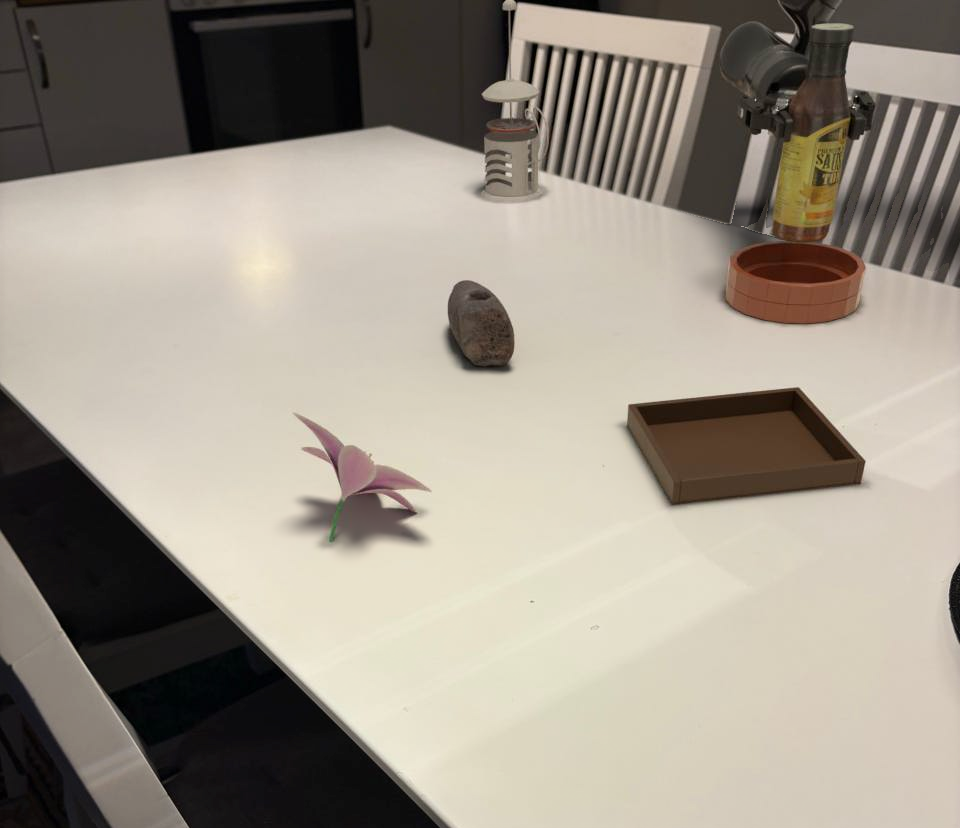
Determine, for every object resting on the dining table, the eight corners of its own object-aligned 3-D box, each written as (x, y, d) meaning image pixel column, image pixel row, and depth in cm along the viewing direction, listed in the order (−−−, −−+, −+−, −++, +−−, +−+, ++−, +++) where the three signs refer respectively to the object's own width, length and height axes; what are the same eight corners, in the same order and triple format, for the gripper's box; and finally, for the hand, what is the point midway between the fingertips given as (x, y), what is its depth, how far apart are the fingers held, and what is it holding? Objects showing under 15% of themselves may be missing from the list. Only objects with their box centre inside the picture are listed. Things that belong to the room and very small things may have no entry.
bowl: (825, 274, 125) (832, 236, 122) (879, 320, 113) (888, 279, 111) (708, 285, 123) (712, 246, 120) (751, 332, 112) (757, 291, 109)
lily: (441, 568, 81) (464, 446, 79) (297, 551, 75) (318, 419, 73) (383, 540, 91) (402, 431, 89) (252, 523, 85) (270, 406, 84)
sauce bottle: (811, 250, 109) (844, 34, 97) (759, 238, 113) (784, 29, 100) (841, 233, 113) (877, 23, 100) (790, 222, 116) (818, 18, 104)
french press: (512, 181, 160) (510, -9, 144) (567, 195, 153) (571, -2, 137) (465, 195, 155) (457, 0, 139) (519, 211, 148) (517, 8, 132)
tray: (794, 411, 97) (798, 386, 96) (860, 487, 86) (866, 460, 85) (626, 428, 96) (628, 404, 94) (671, 508, 85) (674, 481, 83)
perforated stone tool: (438, 326, 116) (434, 264, 112) (484, 320, 117) (482, 258, 113) (468, 381, 105) (465, 314, 100) (518, 375, 106) (518, 308, 101)
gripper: (728, 58, 115) (755, 91, 102) (860, 53, 114) (904, 86, 101) (720, 132, 119) (746, 172, 107) (847, 127, 119) (888, 167, 106)
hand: (823, 130), depth 104 cm, fingers closed on sauce bottle, 6 cm apart
